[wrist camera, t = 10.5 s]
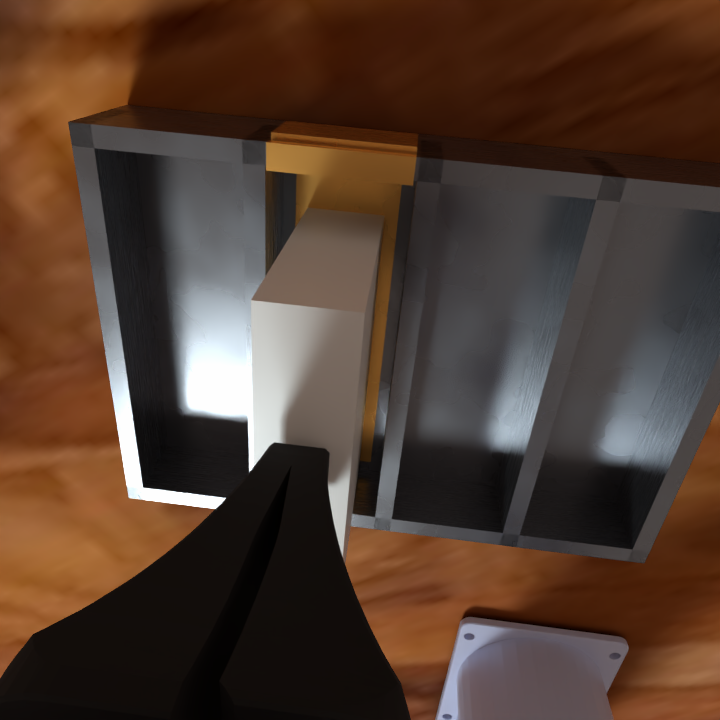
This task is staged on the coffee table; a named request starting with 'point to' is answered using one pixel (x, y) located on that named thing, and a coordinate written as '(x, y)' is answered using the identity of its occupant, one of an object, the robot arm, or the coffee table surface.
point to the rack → (418, 318)
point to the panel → (318, 346)
